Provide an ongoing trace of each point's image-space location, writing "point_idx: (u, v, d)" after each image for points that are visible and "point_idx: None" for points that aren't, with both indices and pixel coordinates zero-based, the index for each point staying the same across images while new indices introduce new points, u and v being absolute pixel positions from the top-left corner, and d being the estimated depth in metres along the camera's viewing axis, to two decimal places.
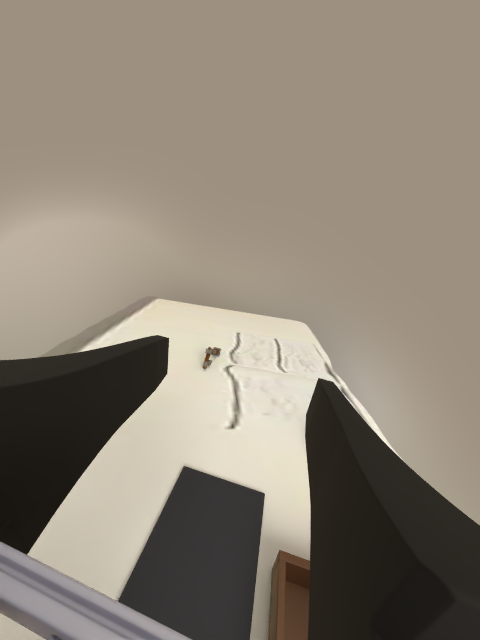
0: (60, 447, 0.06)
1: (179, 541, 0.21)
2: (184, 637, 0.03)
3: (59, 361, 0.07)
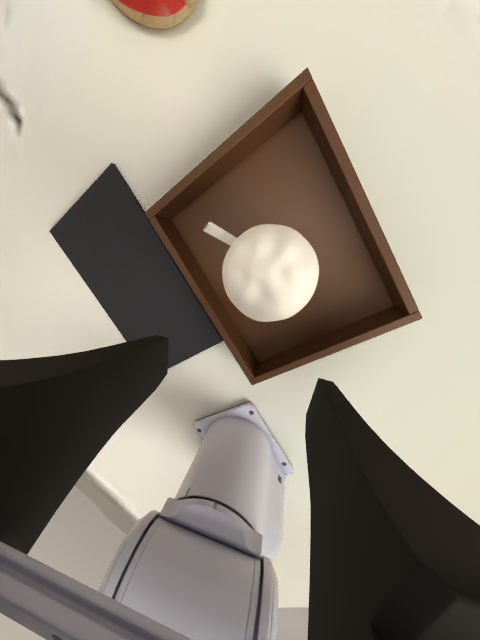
0: (60, 447, 0.06)
1: (106, 276, 0.22)
2: (184, 637, 0.03)
3: (59, 361, 0.07)
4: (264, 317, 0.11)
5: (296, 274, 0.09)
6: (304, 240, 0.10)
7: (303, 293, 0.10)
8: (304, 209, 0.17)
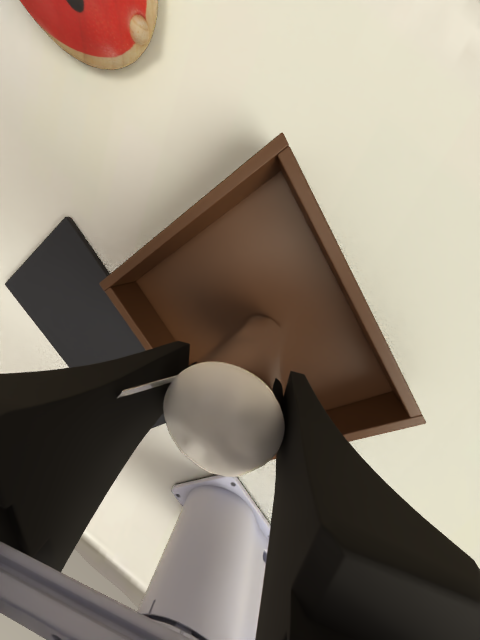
0: (93, 460, 0.06)
1: (69, 334, 0.20)
2: (184, 637, 0.03)
3: (91, 371, 0.06)
4: None
5: (249, 446, 0.07)
6: (262, 394, 0.07)
7: (262, 459, 0.07)
8: (286, 280, 0.14)
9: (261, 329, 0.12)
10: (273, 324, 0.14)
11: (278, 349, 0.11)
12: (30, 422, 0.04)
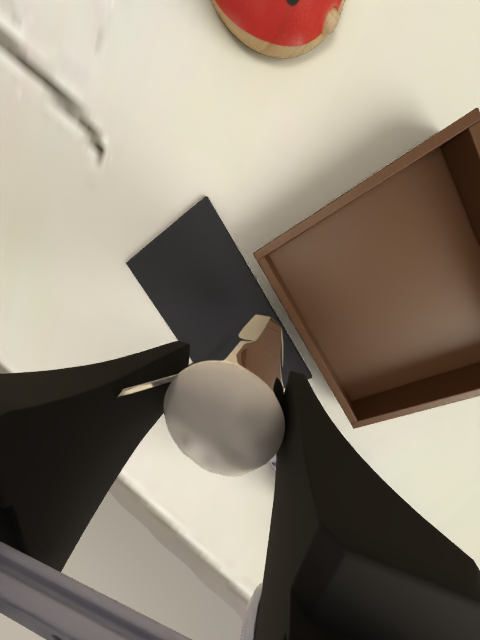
0: (94, 460, 0.06)
1: (186, 309, 0.21)
2: (184, 637, 0.03)
3: (91, 371, 0.06)
4: (216, 473, 0.08)
5: (250, 445, 0.07)
6: (262, 393, 0.07)
7: (262, 458, 0.07)
8: (427, 249, 0.15)
9: (261, 328, 0.12)
10: (273, 323, 0.14)
11: (278, 348, 0.11)
12: (30, 422, 0.04)
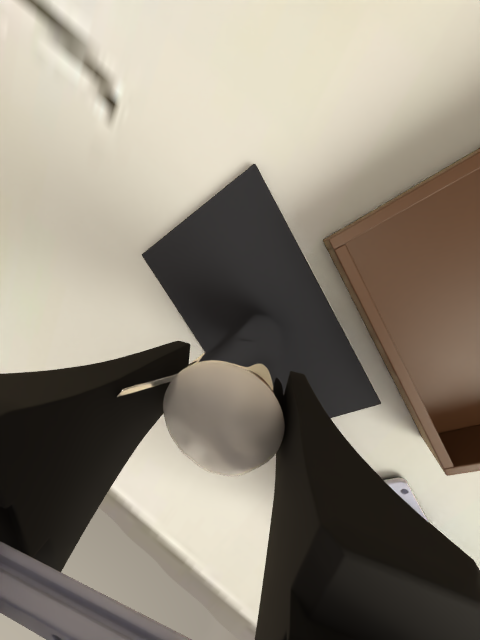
0: (93, 460, 0.06)
1: (218, 314, 0.17)
2: (184, 637, 0.03)
3: (90, 371, 0.06)
4: None
5: (249, 445, 0.07)
6: (262, 393, 0.07)
7: (262, 458, 0.07)
8: None
9: (261, 328, 0.12)
10: (273, 323, 0.14)
11: (278, 348, 0.11)
12: (30, 422, 0.04)
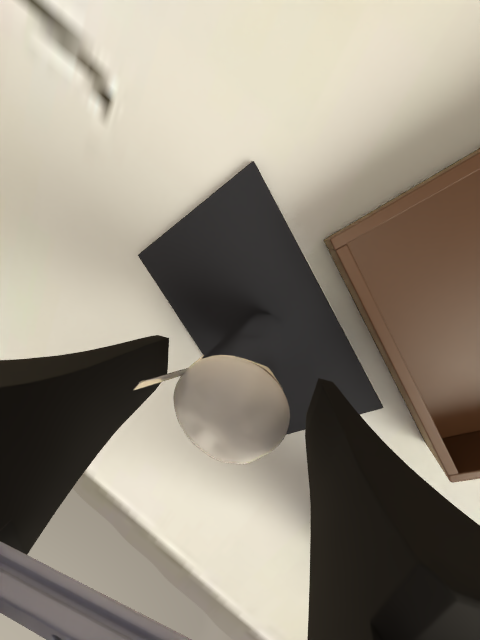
0: (60, 447, 0.06)
1: (216, 316, 0.16)
2: (184, 637, 0.03)
3: (58, 361, 0.07)
4: None
5: (258, 433, 0.07)
6: (269, 385, 0.07)
7: (269, 446, 0.08)
8: None
9: (263, 325, 0.13)
10: (274, 321, 0.15)
11: (280, 344, 0.12)
12: None
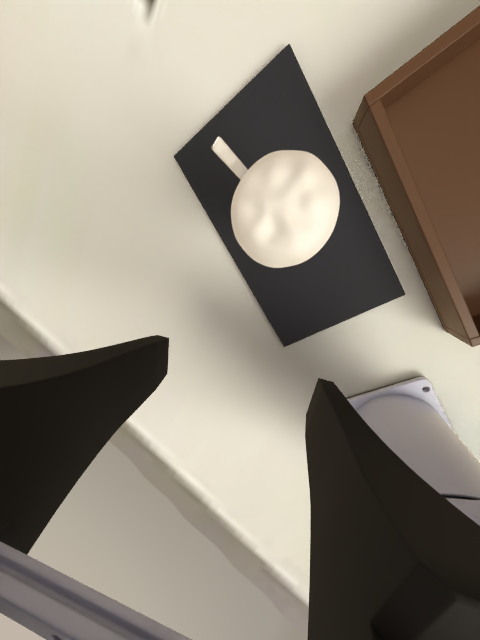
0: (60, 447, 0.06)
1: None
2: (184, 637, 0.03)
3: (58, 361, 0.07)
4: (277, 259, 0.10)
5: (315, 203, 0.08)
6: (324, 166, 0.09)
7: (322, 227, 0.09)
8: None
9: None
10: None
11: None
12: None
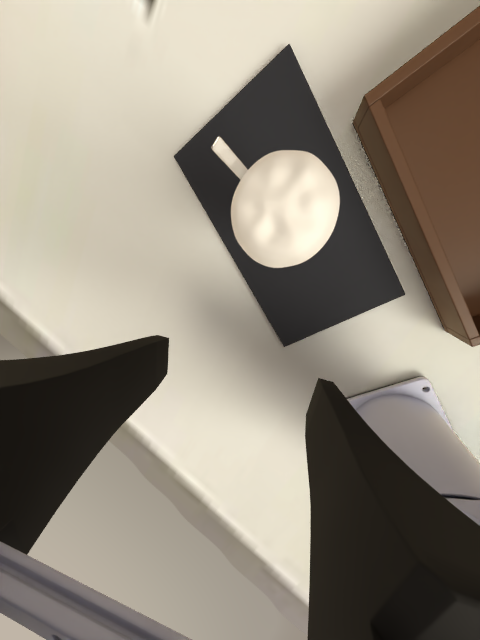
0: (60, 447, 0.06)
1: None
2: (184, 637, 0.03)
3: (58, 361, 0.07)
4: (277, 259, 0.10)
5: (315, 203, 0.08)
6: (324, 166, 0.09)
7: (322, 227, 0.09)
8: None
9: None
10: None
11: None
12: None
